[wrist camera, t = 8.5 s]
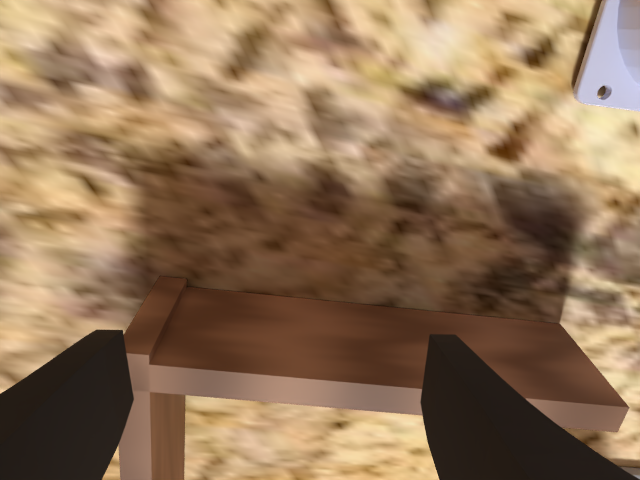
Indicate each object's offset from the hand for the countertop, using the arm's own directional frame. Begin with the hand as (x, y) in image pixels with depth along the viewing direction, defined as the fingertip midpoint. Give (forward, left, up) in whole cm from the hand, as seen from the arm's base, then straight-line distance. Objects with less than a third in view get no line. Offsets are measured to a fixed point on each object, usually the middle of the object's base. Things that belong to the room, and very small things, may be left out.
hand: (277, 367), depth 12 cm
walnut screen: (-4, +12, -10) cm, 16 cm away
